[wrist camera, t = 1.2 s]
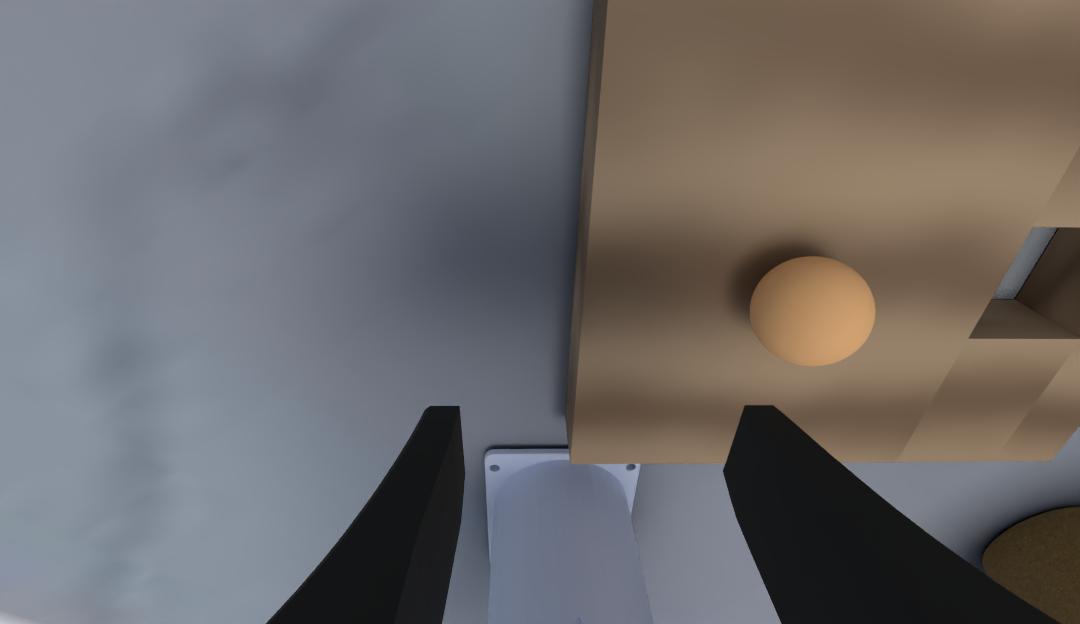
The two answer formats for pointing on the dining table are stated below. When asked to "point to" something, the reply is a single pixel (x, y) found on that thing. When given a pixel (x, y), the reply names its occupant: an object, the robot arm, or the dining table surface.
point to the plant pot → (1041, 563)
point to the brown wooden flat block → (828, 224)
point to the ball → (812, 311)
